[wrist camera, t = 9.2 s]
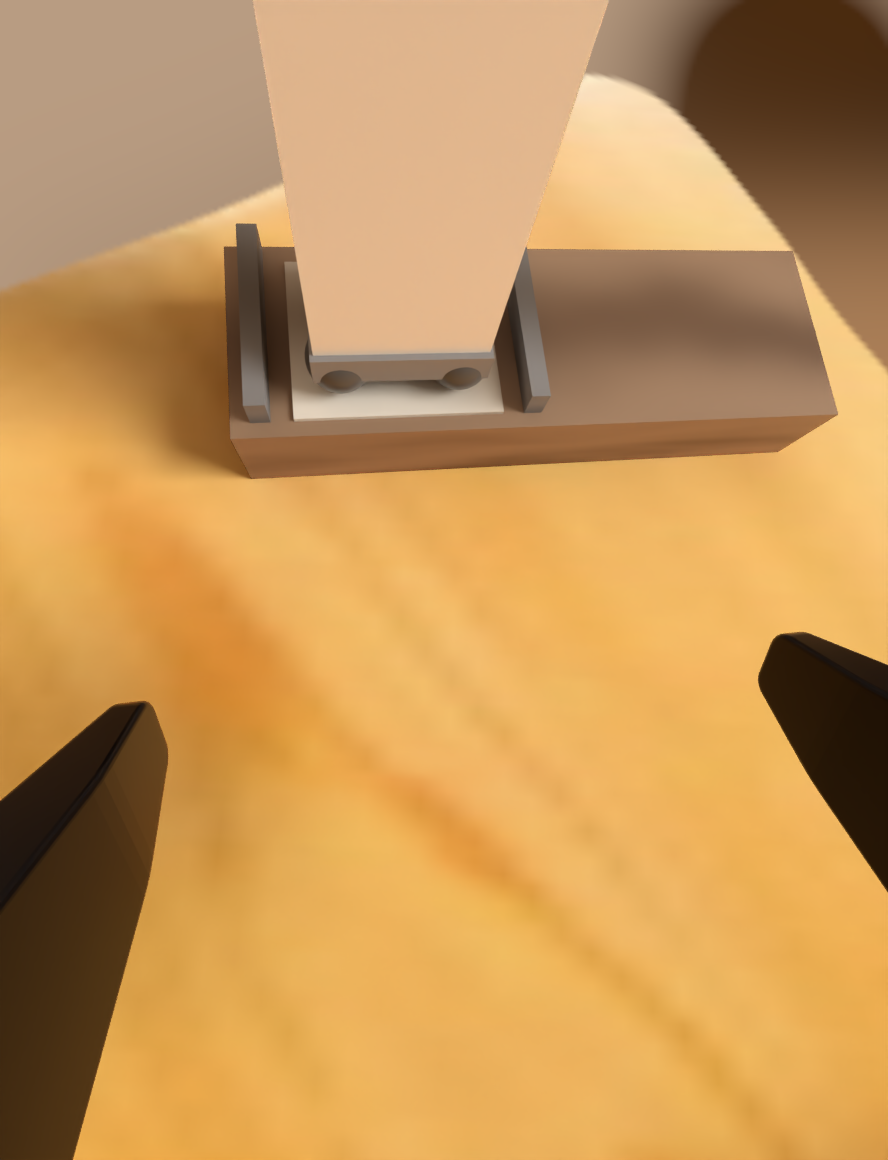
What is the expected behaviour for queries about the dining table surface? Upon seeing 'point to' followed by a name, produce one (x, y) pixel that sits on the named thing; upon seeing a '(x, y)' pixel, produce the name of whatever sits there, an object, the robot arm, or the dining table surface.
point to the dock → (543, 368)
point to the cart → (416, 169)
